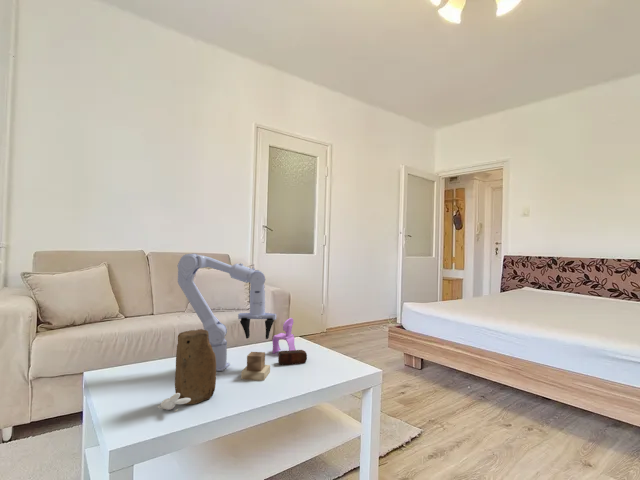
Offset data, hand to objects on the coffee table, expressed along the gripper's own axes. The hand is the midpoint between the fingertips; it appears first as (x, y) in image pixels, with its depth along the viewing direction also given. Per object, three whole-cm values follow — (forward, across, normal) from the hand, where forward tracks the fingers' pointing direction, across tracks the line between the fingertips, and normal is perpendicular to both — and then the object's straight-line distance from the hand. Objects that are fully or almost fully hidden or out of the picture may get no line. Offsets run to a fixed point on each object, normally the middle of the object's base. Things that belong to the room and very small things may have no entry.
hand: (257, 338), depth 133 cm
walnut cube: (+8, +2, -10) cm, 13 cm away
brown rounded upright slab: (+10, -10, -31) cm, 34 cm away
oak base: (+11, +2, -10) cm, 15 cm away
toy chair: (+11, +6, +18) cm, 22 cm away
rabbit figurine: (+10, -12, -39) cm, 42 cm away
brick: (+11, +12, +5) cm, 17 cm away
